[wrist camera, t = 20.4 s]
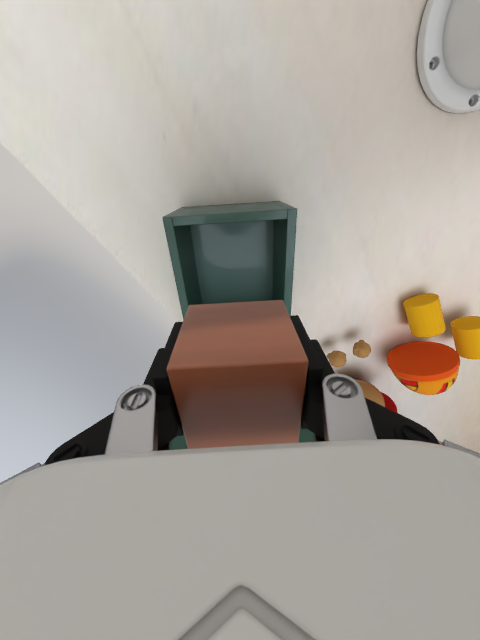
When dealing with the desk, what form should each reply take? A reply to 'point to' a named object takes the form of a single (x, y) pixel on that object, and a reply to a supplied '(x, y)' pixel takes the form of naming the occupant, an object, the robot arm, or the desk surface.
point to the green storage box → (232, 252)
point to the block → (238, 375)
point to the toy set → (422, 351)
